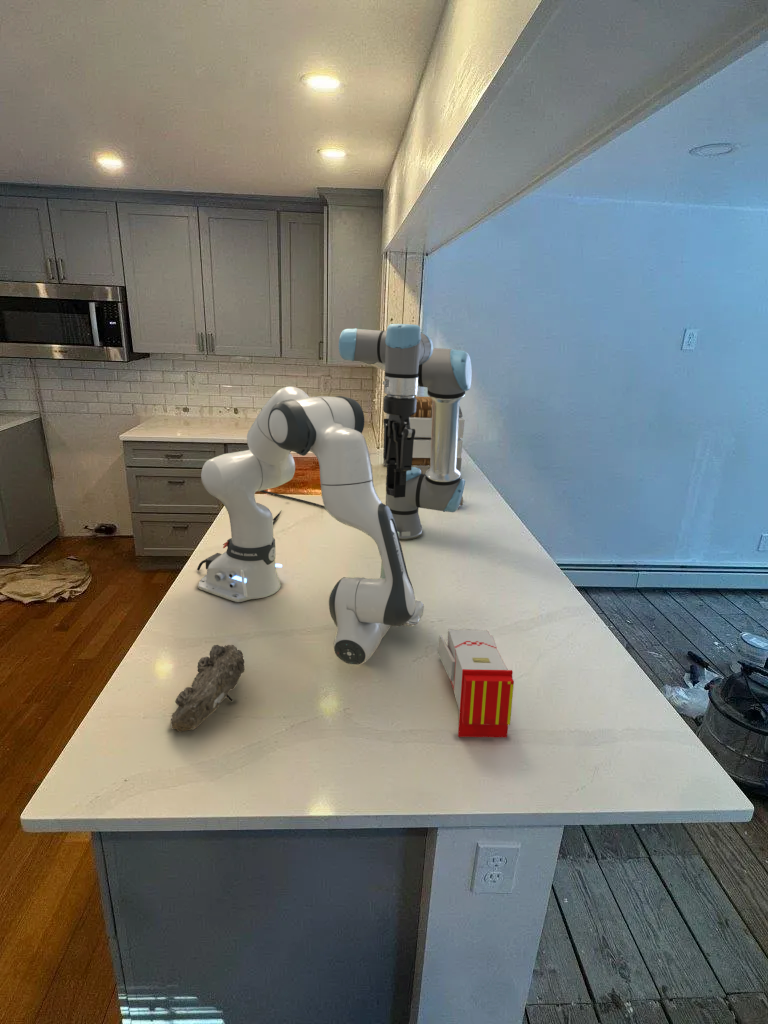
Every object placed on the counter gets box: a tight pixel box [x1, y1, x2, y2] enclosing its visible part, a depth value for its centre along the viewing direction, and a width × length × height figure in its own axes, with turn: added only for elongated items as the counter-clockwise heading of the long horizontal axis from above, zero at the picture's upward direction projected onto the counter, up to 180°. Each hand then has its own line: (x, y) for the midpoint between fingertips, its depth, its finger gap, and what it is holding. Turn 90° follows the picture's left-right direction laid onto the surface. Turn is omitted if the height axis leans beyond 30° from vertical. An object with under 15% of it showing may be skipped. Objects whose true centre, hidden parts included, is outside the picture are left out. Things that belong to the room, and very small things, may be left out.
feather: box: [273, 510, 282, 526], centre depth 212 cm, size 2×28×2 cm
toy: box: [437, 628, 515, 738], centre depth 117 cm, size 12×13×30 cm
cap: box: [387, 484, 394, 496], centre depth 136 cm, size 4×4×2 cm
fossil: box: [170, 644, 246, 733], centre depth 111 cm, size 22×10×15 cm
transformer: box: [383, 395, 465, 475], centre depth 268 cm, size 34×33×41 cm
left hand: (390, 591), depth 146 cm, fingers closed on bottle, 5 cm apart
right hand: (395, 493), depth 136 cm, fingers closed on cap, 4 cm apart
